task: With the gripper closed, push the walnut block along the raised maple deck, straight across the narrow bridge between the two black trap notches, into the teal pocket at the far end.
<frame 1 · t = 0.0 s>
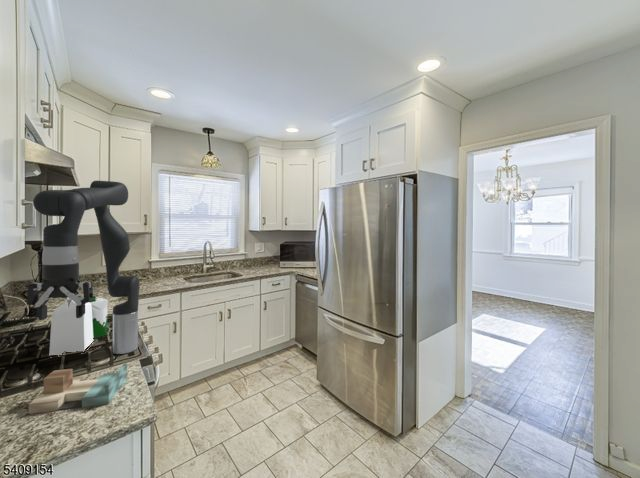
hand: (61, 318, 78), 29 cm above the worktop, tool pointing down, fingers open, 8 cm apart
block: (58, 388, 87), point 3 cm above the worktop, touching deck
deck: (82, 395, 89), on the worktop
milk: (72, 349, 121), on the worktop
milk carton: (95, 336, 136), on the worktop
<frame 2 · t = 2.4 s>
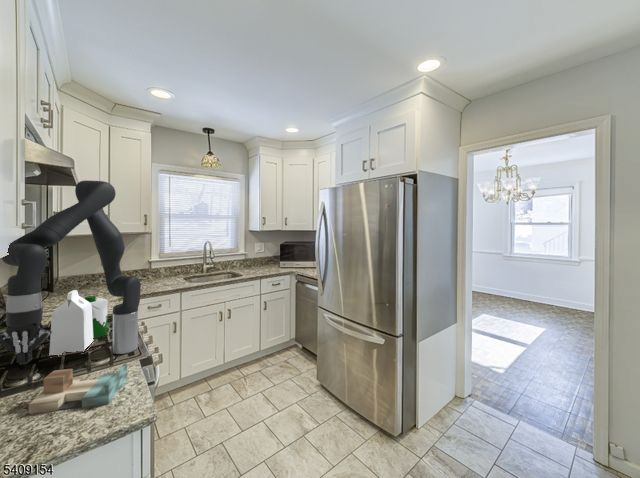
hand: (24, 363, 85), 12 cm above the worktop, tool pointing down, fingers closed
nothing on the worktop moved.
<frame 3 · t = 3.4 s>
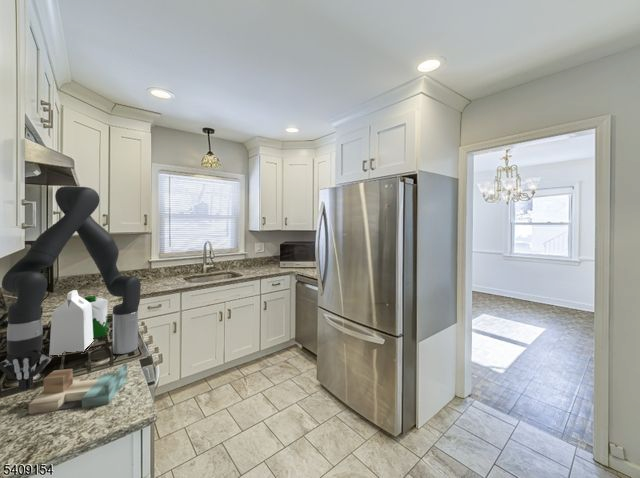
hand: (25, 389, 85), 4 cm above the worktop, tool pointing down, fingers closed
nothing on the worktop moved.
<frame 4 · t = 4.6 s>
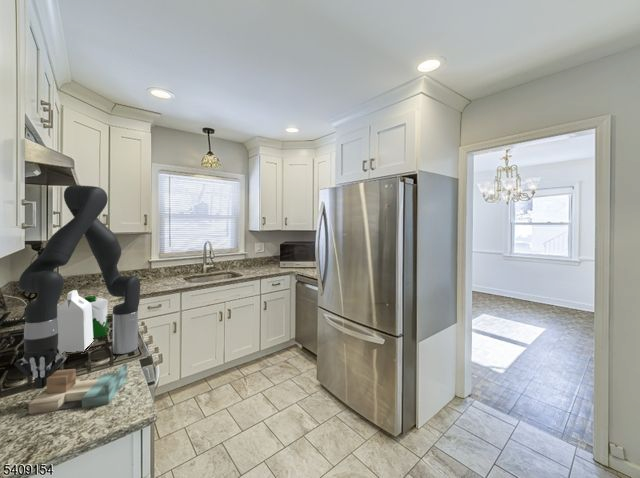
hand: (41, 387, 86), 4 cm above the worktop, tool pointing down, fingers closed
block: (61, 388, 88), point 3 cm above the worktop, touching gripper
everything else where it was.
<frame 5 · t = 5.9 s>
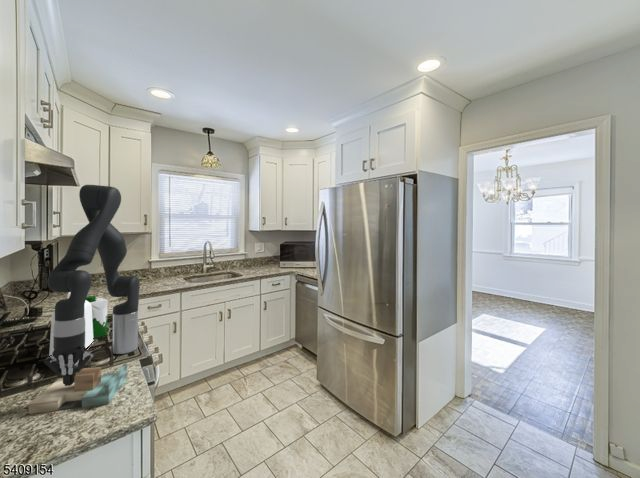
hand: (69, 384, 88), 4 cm above the worktop, tool pointing down, fingers closed
block: (88, 386, 89), point 3 cm above the worktop, touching gripper
everything else where it was.
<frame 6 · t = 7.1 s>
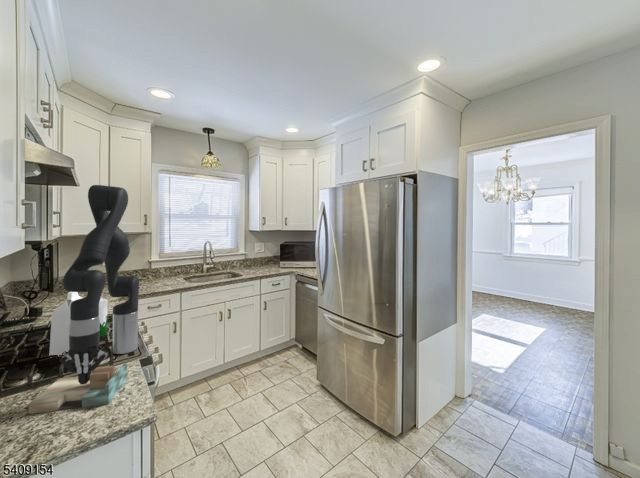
hand: (84, 382, 89), 4 cm above the worktop, tool pointing down, fingers closed
block: (102, 384, 90), point 3 cm above the worktop, touching deck, gripper
everything else where it was.
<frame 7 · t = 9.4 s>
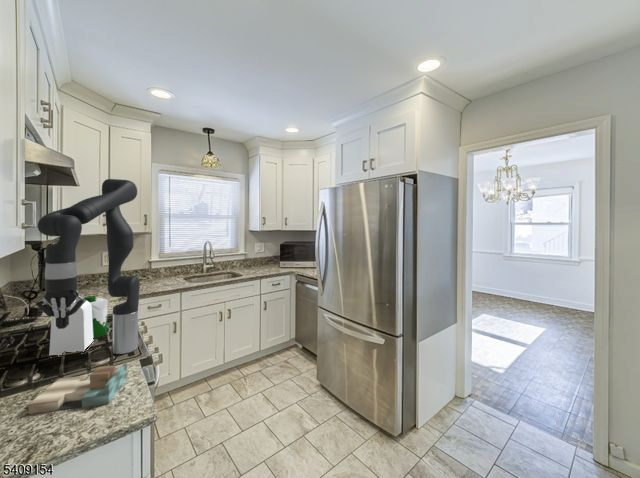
hand: (62, 327, 90), 22 cm above the worktop, tool pointing down, fingers closed
block: (103, 384, 90), point 3 cm above the worktop, touching deck
everything else where it was.
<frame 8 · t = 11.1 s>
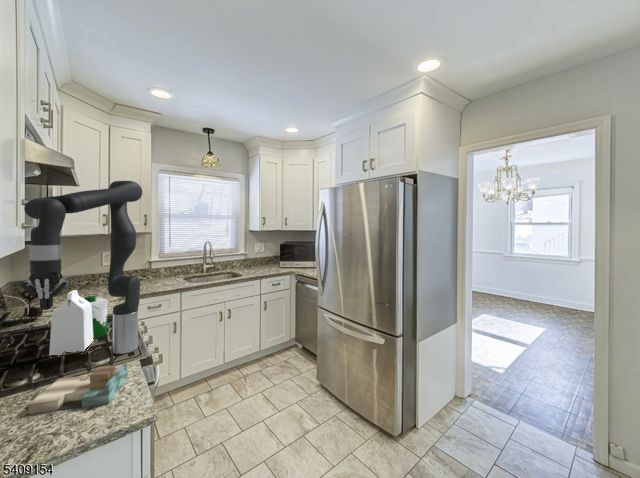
hand: (46, 309, 92), 27 cm above the worktop, tool pointing down, fingers closed
nothing on the worktop moved.
at the end: block 0.5 cm from the target spot on the deck, point 3.0 cm above the deck's base; block tilted 0° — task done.
